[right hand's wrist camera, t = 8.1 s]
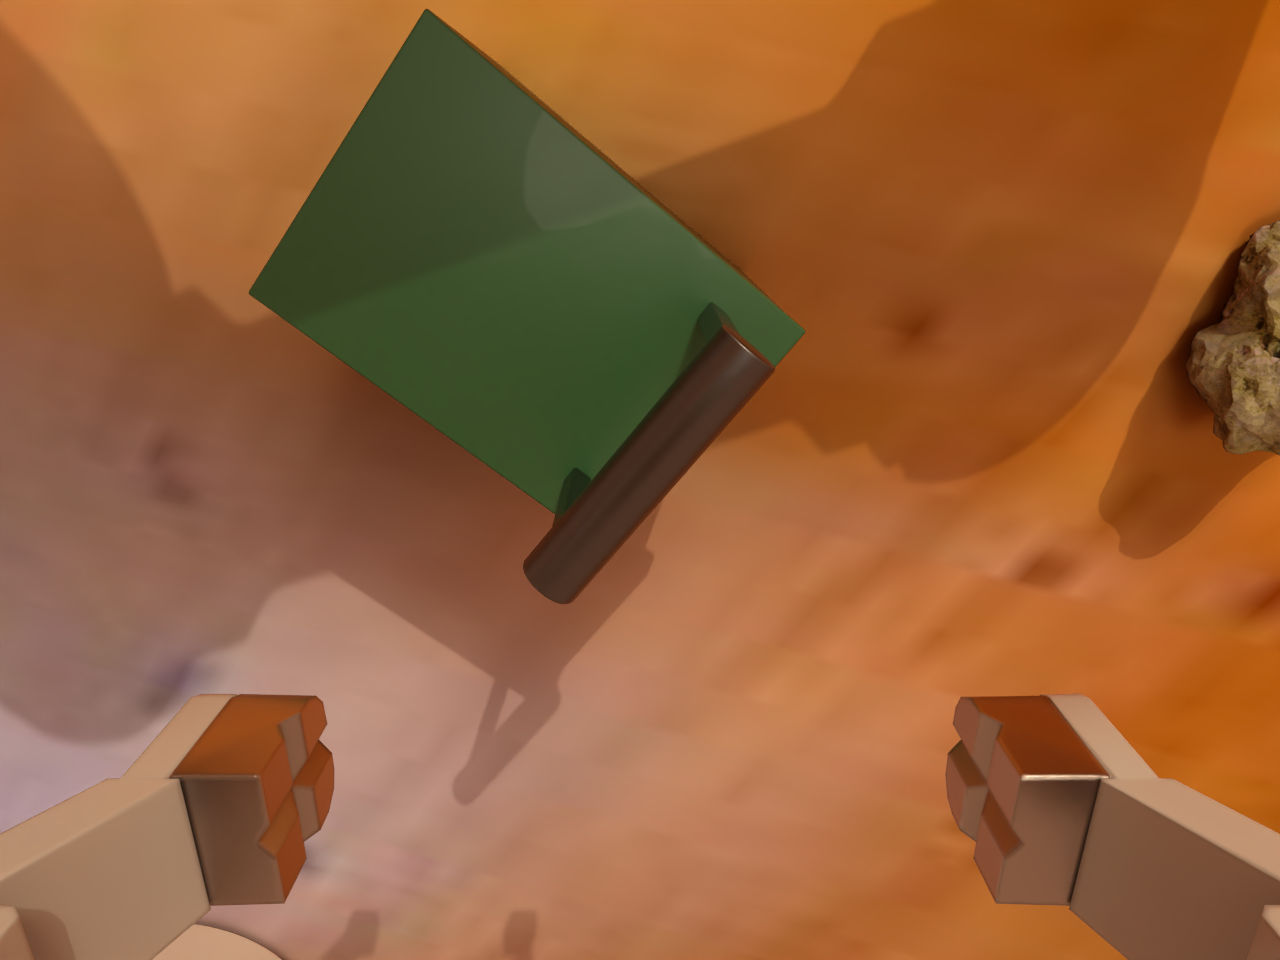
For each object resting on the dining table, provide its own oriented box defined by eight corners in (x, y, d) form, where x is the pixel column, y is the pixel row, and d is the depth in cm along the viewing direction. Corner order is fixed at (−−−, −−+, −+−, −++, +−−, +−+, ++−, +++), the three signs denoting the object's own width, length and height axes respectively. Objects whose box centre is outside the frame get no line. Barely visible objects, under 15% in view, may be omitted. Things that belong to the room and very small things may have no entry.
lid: (801, 326, 26) (868, 390, 18) (612, 543, 29) (601, 678, 21) (434, 13, 23) (330, -68, 15) (260, 289, 26) (97, 338, 18)
